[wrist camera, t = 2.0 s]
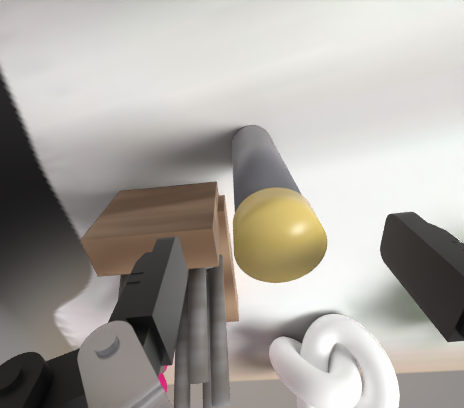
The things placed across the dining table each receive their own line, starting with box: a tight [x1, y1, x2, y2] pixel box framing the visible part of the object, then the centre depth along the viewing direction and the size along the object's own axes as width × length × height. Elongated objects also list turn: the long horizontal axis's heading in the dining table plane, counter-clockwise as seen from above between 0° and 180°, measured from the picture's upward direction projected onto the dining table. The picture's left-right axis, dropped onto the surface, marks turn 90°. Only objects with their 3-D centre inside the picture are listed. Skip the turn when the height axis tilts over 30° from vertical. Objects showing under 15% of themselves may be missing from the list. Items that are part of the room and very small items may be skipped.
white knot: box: [269, 314, 399, 408], centre depth 27 cm, size 11×12×9 cm
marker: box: [232, 125, 327, 283], centre depth 14 cm, size 3×3×12 cm
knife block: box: [80, 182, 239, 408], centre depth 20 cm, size 15×9×11 cm, turn 6°
